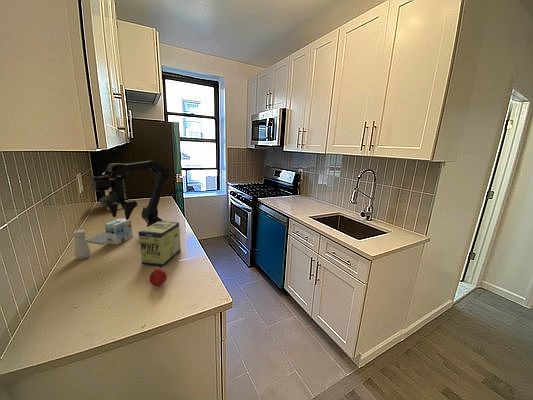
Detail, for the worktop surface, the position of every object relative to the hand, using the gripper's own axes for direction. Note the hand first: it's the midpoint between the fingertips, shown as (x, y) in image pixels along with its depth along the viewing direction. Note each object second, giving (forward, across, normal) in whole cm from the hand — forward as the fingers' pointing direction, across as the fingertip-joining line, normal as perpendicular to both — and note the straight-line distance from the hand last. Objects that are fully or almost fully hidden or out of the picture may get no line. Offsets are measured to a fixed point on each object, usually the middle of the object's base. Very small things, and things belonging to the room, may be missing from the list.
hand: (120, 218), depth 116 cm
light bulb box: (+14, -4, +2) cm, 15 cm away
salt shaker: (+14, -2, -18) cm, 23 cm away
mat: (+14, -14, 0) cm, 20 cm away
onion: (+14, +46, -21) cm, 52 cm away
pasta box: (+13, -66, +45) cm, 81 cm away
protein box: (+14, +30, -4) cm, 34 cm away
